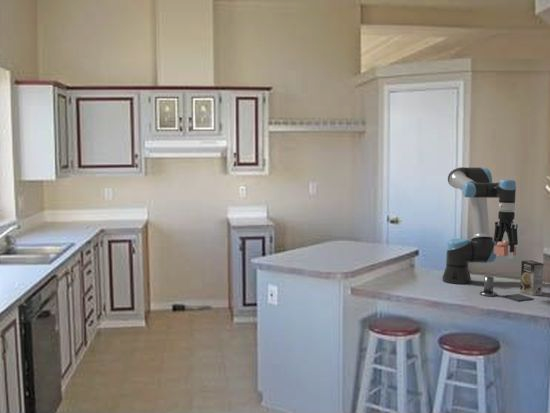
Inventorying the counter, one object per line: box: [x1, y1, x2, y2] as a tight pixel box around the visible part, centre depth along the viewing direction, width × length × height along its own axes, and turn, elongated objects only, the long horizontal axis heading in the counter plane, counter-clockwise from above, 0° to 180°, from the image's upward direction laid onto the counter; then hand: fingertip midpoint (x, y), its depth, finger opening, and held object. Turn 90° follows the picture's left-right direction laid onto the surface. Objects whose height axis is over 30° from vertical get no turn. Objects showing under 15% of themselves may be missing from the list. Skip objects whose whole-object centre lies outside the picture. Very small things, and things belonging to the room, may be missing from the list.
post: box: [479, 275, 498, 298], centre depth 322 cm, size 8×8×9 cm
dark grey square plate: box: [502, 293, 535, 302], centre depth 316 cm, size 10×10×1 cm
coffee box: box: [519, 260, 545, 296], centre depth 326 cm, size 9×6×16 cm
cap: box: [494, 240, 517, 257], centre depth 316 cm, size 7×7×7 cm
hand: (504, 257), depth 317 cm, fingers closed on cap, 7 cm apart
